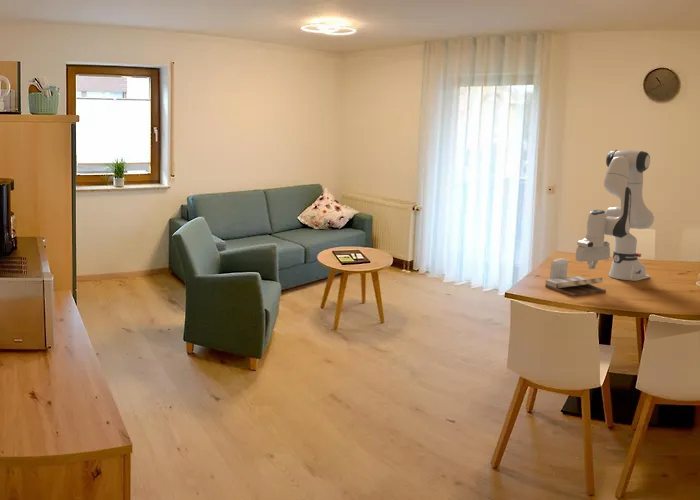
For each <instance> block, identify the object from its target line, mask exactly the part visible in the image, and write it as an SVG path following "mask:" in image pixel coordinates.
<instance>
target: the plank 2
mask: <svg viewBox="0 0 700 500" xmlns="http://www.w3.org/2000/svg"><path fill="white" fill-rule="evenodd" d="M600 283H603V277H597V278H589V279H588V278H586V284H585V285H588V284H590V285H594V284H600ZM579 286H580V285H579Z"/></svg>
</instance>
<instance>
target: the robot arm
mask: <svg viewBox="0 0 700 500" xmlns="http://www.w3.org/2000/svg"><path fill="white" fill-rule="evenodd" d="M605 164H606V166H607V170H606V173H605V176H604V180H603V186H604V189H605V190H606V191H607V193H610V194H611V195H612V196H615V197H616V198H618V199H619V200H620V206H618V205H617V206H610V207H607V208H606V210H602V209H593V210H590V211H589V214H588V218H587V220H586V221H587V222H586V234H585V237H584V238H582V239H581V240H578V241H577V244H576V245H577V247H576V251H575V260H576V261H577V262H581V263H583V262H586V263H587V265H588V269H589V270H596V266H597V264H598V262H599V261H605V260H609V259H610V257H611V248H610V243H609V242H608V241H605V236H612V237H614V251H613V254H612V258H613V259H612V261H611V265H610V270H609V272H608V276H609V277H610V278H611V279H612V278H613V279H617V280H624V281H634V282H637V281H641V280H645V279H650V277H651V276H650V275H649V274H647V273H646V272H647V271H646V270H647V269H646V266H645V265H644V264H643V263H642V262H641V261H640V260H639V259H638V258H641V257H642V253H638V252H637V247H638V240H637V237H636V236H635V235H633V234H632V233H630V230H631V229H636V230H637V229H638V230H643V229H644V230H645V229H650V227H652V226H653V224H654V221H655V216H654V213H653V212H652V211H651V210H650V209H649V208H648V207H647V206H646V204H645V202H644V198H643V186H644V185H643V184H644V172H645V171H646V170H648V169H649V167H650V164H651V156H650V154H649V152H647V151H643V150H641V151H640V150H633V149H628V150H627V149H621V150H618V149H614V150H611V151H609V152H608V153H607V155H606V159H605Z"/></svg>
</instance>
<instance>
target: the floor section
mask: <svg viewBox="0 0 700 500" xmlns="http://www.w3.org/2000/svg"><path fill="white" fill-rule="evenodd" d="M586 279H587V278H585V277H582V276H579V275H577V276H569V277H566V278H557V279H550V278H549V279H545V285H544V286H545V288H548V289H551V290H554V291H558V292H560V293H563V294H565V295H569V296H572V297H576V296H583V295H584V296H585V295H591V294H592V293H593V294H599V293H606V291H607V289H605V288H603V287H599V286H595V285H594V284H588V285H580V286H572V287H563V288H558V284H557V283H563V282H570V281H578V280H586ZM593 294H592V295H593Z"/></svg>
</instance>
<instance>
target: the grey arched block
mask: <svg viewBox="0 0 700 500" xmlns="http://www.w3.org/2000/svg"><path fill="white" fill-rule="evenodd" d="M568 265H569V262H568V259H566V258H561V257H560V258H556V259H554V260H552V262H551V264H550V274H549V275H550V276H549V279H557V278H566V277H567V275H568V267H569V266H568Z"/></svg>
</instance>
